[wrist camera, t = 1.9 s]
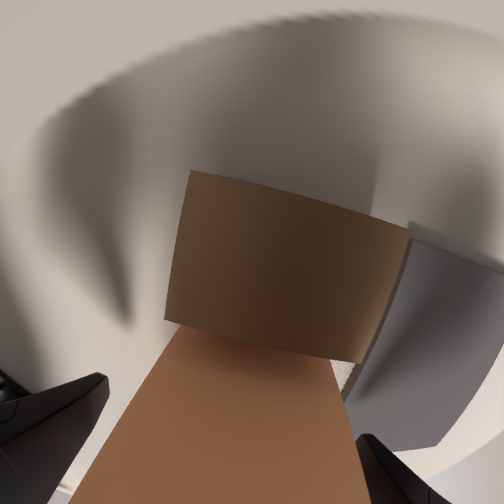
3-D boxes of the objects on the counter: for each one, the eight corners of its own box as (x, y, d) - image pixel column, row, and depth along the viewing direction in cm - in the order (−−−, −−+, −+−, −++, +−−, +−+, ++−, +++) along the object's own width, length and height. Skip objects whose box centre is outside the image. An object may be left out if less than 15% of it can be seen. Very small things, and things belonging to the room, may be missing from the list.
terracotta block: (174, 408, 10) (111, 558, 2) (187, 314, 9) (58, 519, 1) (284, 433, 10) (284, 591, 2) (325, 346, 9) (384, 565, 1)
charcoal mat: (311, 443, 10) (312, 452, 10) (405, 237, 8) (413, 240, 8) (432, 439, 10) (436, 446, 10) (519, 282, 8) (526, 285, 7)
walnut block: (195, 281, 9) (164, 319, 6) (217, 178, 8) (190, 169, 5) (336, 315, 9) (360, 364, 6) (368, 218, 8) (411, 230, 5)
